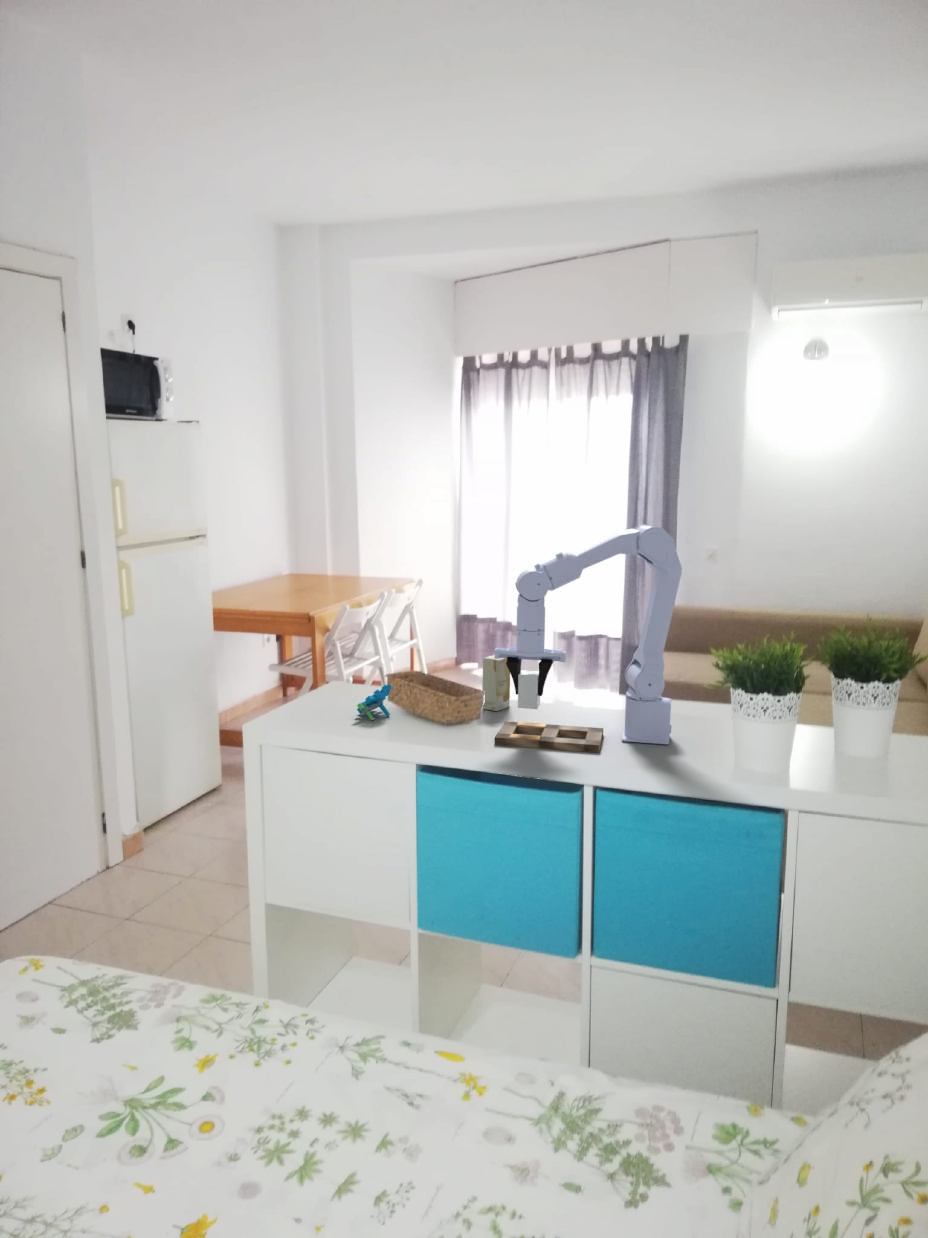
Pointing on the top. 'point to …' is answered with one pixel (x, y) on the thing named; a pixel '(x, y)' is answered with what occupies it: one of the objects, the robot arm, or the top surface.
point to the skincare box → (496, 683)
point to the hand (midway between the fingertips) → (529, 694)
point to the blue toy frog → (375, 702)
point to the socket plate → (549, 736)
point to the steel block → (528, 689)
